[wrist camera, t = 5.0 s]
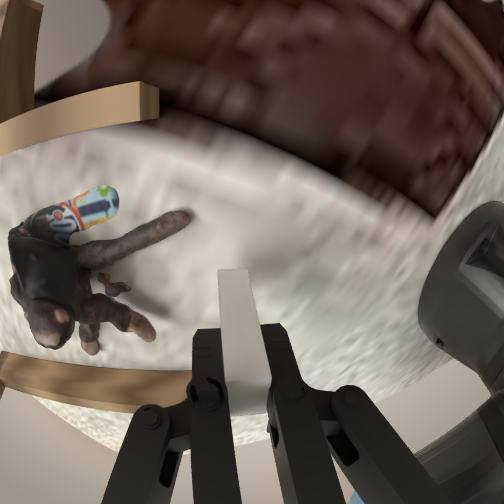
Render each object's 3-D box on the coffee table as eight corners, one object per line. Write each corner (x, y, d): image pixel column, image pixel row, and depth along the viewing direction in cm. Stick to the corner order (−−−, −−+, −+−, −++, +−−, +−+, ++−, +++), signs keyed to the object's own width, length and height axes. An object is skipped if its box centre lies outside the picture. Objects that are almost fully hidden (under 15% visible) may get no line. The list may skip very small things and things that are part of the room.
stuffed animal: (5, 313, 14) (-60, 270, 5) (56, 216, 19) (51, 119, 10) (125, 380, 18) (160, 408, 9) (163, 279, 24) (225, 221, 14)
